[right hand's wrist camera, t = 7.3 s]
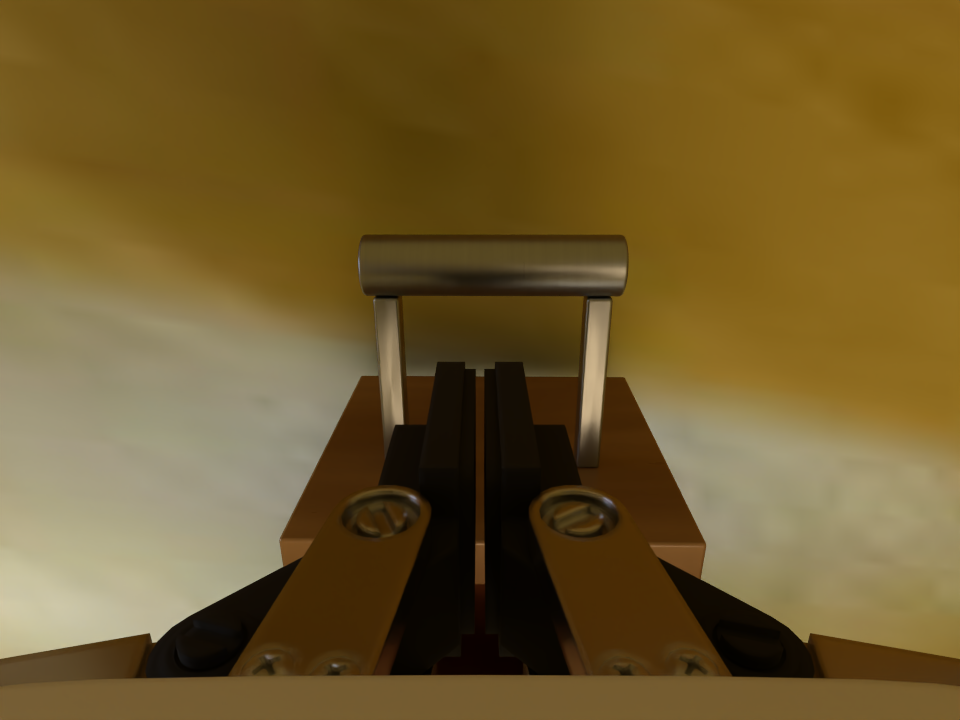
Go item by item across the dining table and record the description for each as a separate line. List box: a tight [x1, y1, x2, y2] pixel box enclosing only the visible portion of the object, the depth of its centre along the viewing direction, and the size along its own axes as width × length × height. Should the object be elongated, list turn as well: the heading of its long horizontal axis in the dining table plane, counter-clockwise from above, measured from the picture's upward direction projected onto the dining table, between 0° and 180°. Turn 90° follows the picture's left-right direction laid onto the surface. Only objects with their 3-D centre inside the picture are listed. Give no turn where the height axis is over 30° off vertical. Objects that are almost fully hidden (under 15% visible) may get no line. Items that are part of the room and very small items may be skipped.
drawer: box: [279, 235, 706, 675], centre depth 19 cm, size 24×9×9 cm, turn 0°
